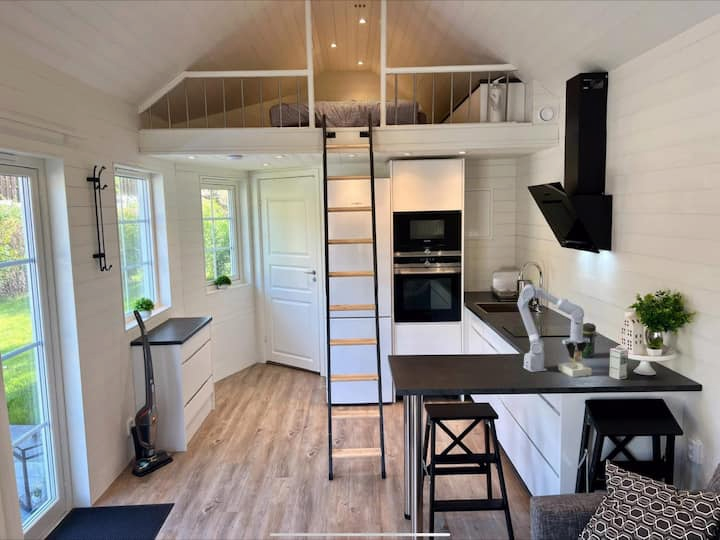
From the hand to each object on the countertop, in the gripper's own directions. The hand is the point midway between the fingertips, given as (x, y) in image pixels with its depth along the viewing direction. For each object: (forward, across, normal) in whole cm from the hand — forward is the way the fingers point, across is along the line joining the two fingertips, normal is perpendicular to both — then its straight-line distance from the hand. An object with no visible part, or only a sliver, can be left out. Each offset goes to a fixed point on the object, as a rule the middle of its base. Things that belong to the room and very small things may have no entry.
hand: (575, 357), depth 252 cm
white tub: (+8, 0, 0) cm, 8 cm away
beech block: (+2, 0, 0) cm, 2 cm away
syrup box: (+9, +16, -11) cm, 21 cm away
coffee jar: (+9, +25, +23) cm, 35 cm away
